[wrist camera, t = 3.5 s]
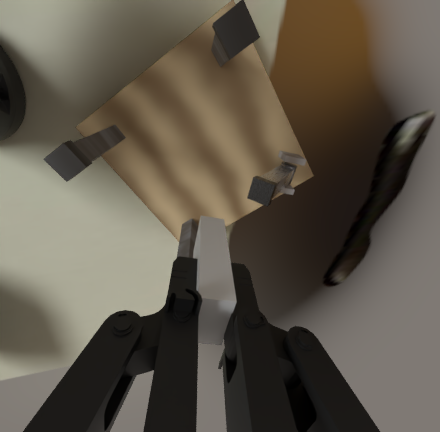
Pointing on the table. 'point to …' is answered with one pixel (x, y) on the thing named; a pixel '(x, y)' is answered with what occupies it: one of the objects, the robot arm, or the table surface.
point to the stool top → (193, 130)
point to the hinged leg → (271, 183)
